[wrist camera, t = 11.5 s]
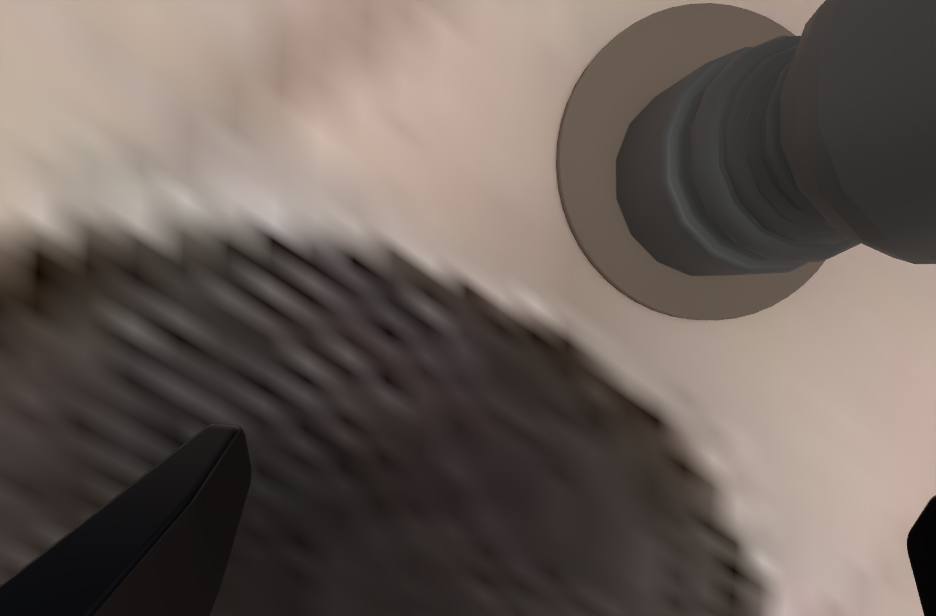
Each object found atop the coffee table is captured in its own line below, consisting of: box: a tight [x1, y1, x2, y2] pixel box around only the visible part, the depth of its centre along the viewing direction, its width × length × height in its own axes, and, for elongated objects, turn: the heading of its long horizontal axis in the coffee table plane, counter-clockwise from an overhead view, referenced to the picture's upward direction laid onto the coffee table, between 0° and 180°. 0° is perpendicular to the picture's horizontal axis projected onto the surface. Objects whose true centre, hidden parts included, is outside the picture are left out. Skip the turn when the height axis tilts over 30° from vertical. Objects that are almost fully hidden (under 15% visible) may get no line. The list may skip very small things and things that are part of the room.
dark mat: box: [556, 3, 825, 320], centre depth 22 cm, size 10×10×1 cm
